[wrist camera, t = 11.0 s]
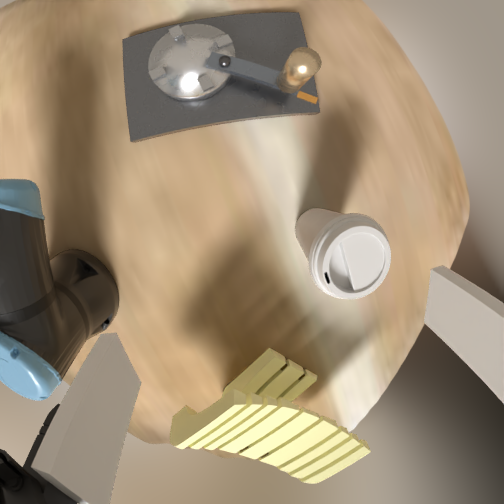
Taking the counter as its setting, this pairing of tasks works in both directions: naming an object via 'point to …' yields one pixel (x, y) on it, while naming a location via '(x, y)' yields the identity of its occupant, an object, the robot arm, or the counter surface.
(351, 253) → the coffee cup
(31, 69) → the counter surface
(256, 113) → the plate
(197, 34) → the lever with amber grip
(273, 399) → the slatted curved stool
